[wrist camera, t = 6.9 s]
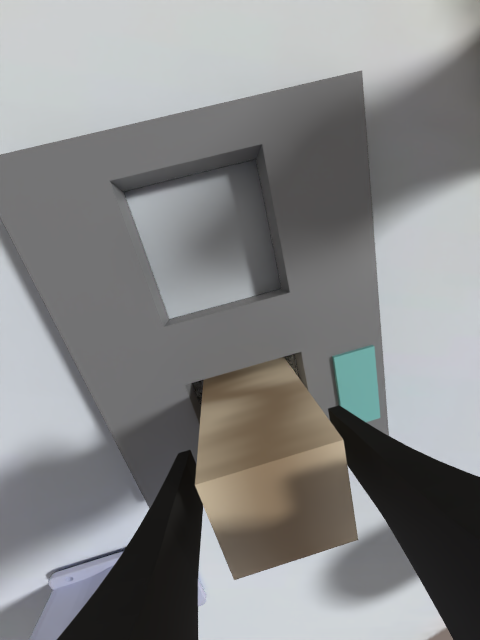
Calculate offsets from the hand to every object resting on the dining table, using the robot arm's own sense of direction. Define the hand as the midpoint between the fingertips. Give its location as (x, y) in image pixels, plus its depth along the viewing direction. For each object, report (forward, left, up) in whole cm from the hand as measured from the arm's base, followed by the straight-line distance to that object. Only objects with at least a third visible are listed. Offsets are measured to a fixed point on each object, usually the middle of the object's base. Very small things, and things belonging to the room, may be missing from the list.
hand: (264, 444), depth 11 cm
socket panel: (0, +5, -3) cm, 6 cm away
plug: (0, 0, -4) cm, 4 cm away
